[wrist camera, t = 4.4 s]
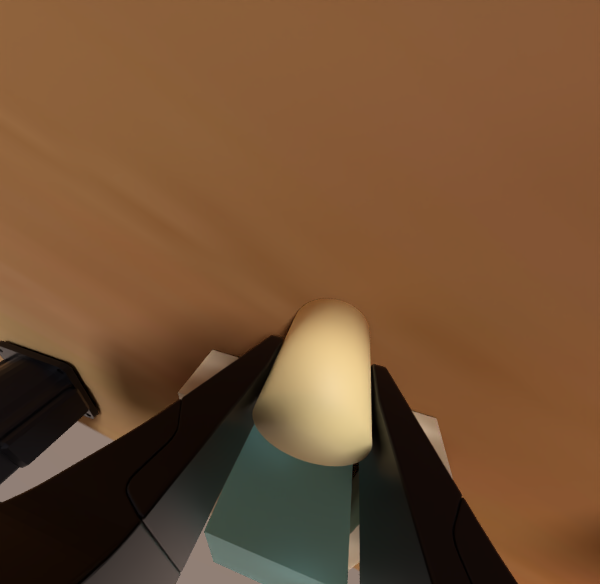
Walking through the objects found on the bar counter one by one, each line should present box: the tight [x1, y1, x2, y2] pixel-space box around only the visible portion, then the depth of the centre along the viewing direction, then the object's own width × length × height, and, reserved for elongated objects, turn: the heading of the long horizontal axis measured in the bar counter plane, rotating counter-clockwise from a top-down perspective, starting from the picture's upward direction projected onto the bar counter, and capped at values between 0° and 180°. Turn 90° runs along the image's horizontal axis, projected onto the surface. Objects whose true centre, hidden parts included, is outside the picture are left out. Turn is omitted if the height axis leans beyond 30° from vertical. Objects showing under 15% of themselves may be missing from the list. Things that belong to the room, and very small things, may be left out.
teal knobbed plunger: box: [204, 298, 372, 584], centre depth 10 cm, size 6×16×5 cm, turn 171°
